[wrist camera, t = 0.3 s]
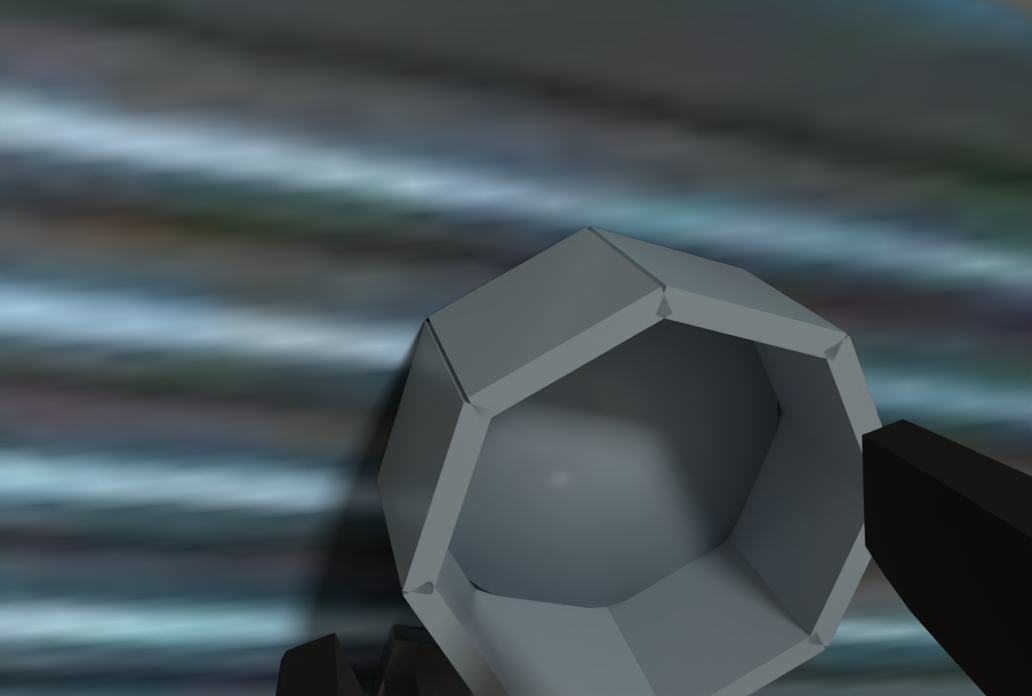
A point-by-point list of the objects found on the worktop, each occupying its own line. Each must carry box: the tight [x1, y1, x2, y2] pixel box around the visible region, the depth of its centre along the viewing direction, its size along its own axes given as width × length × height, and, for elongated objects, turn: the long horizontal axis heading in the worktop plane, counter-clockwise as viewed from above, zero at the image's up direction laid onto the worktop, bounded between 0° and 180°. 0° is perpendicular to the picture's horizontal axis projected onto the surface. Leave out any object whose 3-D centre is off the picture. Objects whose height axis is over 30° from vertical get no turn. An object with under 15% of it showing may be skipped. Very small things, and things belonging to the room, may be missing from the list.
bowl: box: [377, 227, 882, 696], centre depth 22 cm, size 10×10×4 cm
